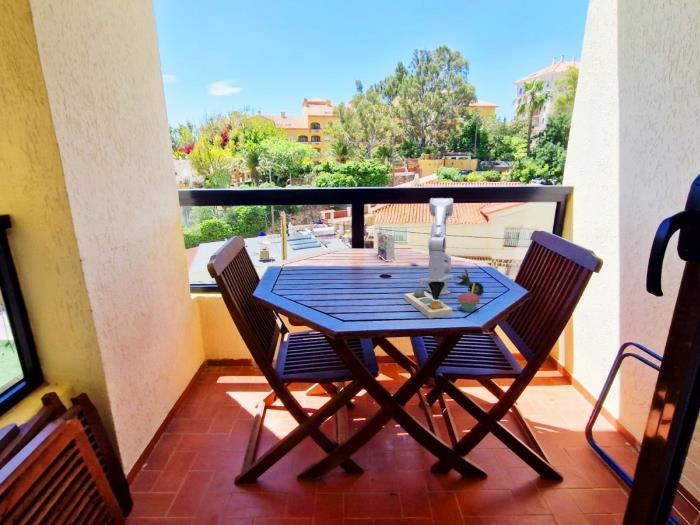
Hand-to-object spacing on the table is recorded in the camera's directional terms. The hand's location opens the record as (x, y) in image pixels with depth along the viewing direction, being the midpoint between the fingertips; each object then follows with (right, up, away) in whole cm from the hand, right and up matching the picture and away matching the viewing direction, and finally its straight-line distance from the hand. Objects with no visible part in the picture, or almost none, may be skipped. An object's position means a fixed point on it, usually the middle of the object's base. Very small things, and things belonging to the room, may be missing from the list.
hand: (435, 299), depth 158 cm
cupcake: (+14, -5, +3) cm, 15 cm away
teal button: (-2, -4, +8) cm, 9 cm away
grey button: (-4, -1, +14) cm, 15 cm away
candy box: (-12, +17, +86) cm, 88 cm away
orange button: (0, -4, +1) cm, 4 cm away
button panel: (-2, -4, +8) cm, 9 cm away
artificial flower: (+22, +2, +29) cm, 36 cm away
